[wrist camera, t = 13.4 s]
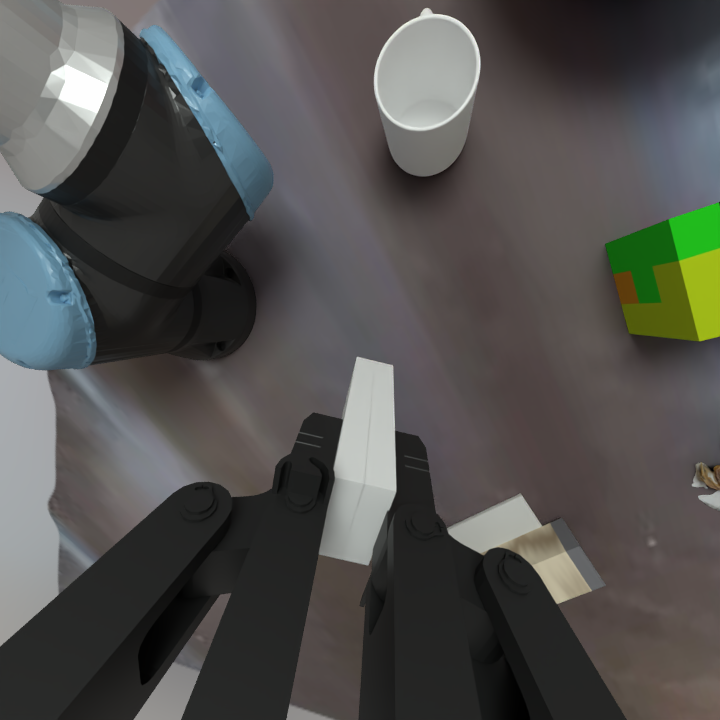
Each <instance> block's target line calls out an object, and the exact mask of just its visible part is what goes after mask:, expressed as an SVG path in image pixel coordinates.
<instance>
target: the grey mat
mask: <svg viewBox="0 0 720 720" xmlns="http://www.w3.org/2000/svg"><path fill="white" fill-rule="evenodd" d="M540 527H542V525H541V524H540V522H539V520H538V519H537V517H536V516H535V514H534V513H533V511H532V510H531V508H530V507H529V505H528V504H527V502H526V501H525V499H524V498H523V496H522V495H521V493H520V494H518V495H516V496H514V497H512V498H510V499H507V500H505V501H503V502H501V503H499V504H497V505H495V506H493V507H491V508H488V509H486V510H484V511H482V512H480V513H478V514H476V515H474V516H471V517H469V518H467V519H465V520H463V521H461V522H459V523H457V524H454V525H452V526H450V527H448V528H447V530H448V533H449V534H450V535H451V536H452V537H453V538H454V539H456V540H457V541H459V542H460V543H462V544H463V545H465V546H467V547H469V548H471V549H473V550H475V551H477V552H478V553H483V552H485V551H487V550H489V549H492V548H494V547H496V546H499V545H501V544H503V543H505V542H508V541H510V540H512V539H514V538H517V537H519V536H521V535H524V534H526V533H528V532H530V531H533V530H535V529H537V528H540Z"/></svg>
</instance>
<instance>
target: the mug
mask: <svg viewBox="0 0 720 720" xmlns="http://www.w3.org/2000/svg"><path fill="white" fill-rule="evenodd" d="M479 75H480V54H479V49H478V46H477V43H476V41H475V39H474V37H473V35H472V34H471V32H470V31H469V29H468V28H467V27H466V26H465V25H464V24H462V23H461V22H460V21H458V20H456V19H455V18H452V17H450V16H446V15H441V14H433V13H432V11H431V10H430V9H429V8H425V9H424V10H423V11H422V12H421V15H420V17H417V18H415V19H413V20H411V21H409V22H407V23H405V24H404V25H403V26H401V27H400V28H399V29H398V30H397V31H396V32H395V33H394V34H393V35H392V36H391V37H390V38H389V39H388V41H387V42H386V44H385V45H384V47H383V49H382V51H381V53H380V55H379V58H378V60H377V64H376V67H375V73H374V91H375V96H376V100H377V104H378V108H379V112H380V116H381V120H382V123H383V127H384V131H385V135H386V139H387V143H388V146H389V150H390V153H391V155H392V157H393V159H394V161H395V162H396V163H397V165H398V166H399V167H400V168H401V169H403V170H404V171H405V172H407V173H409V174H412V175H415V176H432V175H435V174H438V173H440V172H442V171H444V170H445V169H447V168H448V167H449V166H450V165H451V164H452V163H453V162H454V161H455V160H456V159H457V157H458V156H459V154H460V153H461V151H462V149H463V147H464V144H465V141H466V138H467V134H468V129H469V124H470V119H471V114H472V109H473V105H474V100H475V95H476V90H477V85H478V80H479Z"/></svg>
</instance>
